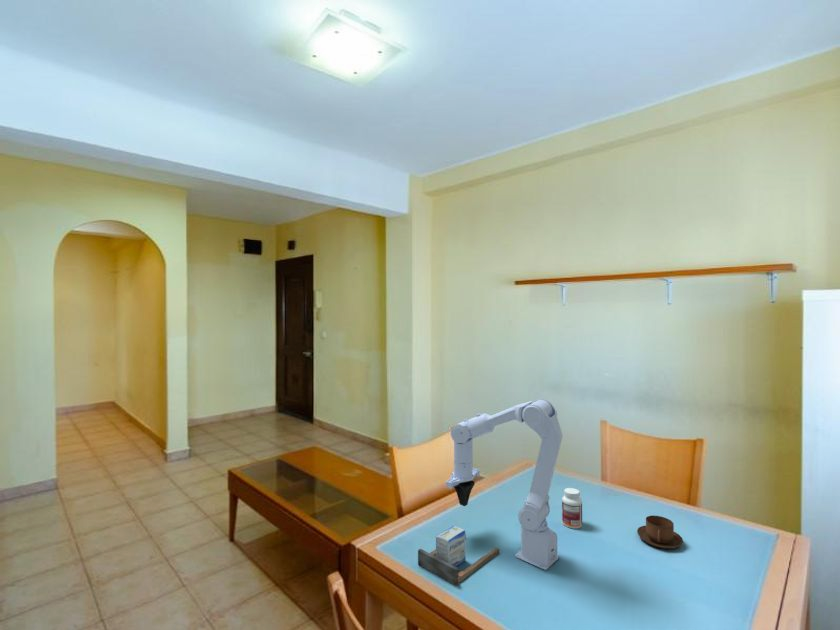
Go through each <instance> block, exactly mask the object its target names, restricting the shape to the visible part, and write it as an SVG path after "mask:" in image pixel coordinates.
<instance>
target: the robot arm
mask: <svg viewBox="0 0 840 630" xmlns="http://www.w3.org/2000/svg"><path fill="white" fill-rule="evenodd" d="M515 420H516V421H518V422H519V423H521V424H522V423H525V424H526V425H527V426H528V427H529V428H530V429H532V430H533V431H534V432H535V433H536V434H537V435H538V436H539V438H540V439H541V443H540V446H539V447H540V448H539V451H538V456H537V460H536V463H535V468H534V471H533V476H532V480H531V483H530V484H531V485H530V487H529V492H528V495H527V497H526V498H525V501H524V505H523V507H522V508H521V509H520V510H519V511H518V515H517V517H518V522H519V524H520V526H521V527H520V528H521V529H520V538H521V539H520V540H521V541H520V543H521V544H520V546H521V547H520V549H521V550H519V551H518V552H517V553H515V555H514V556H515V558H517V559H519V560H522V561H523V562H526V563H529V564H531V565H533V566H535V567H537V568H540V569H542V570H545V571H546V570H548V569H549V568H551V566H552V565H553V564H554V563H555V562H556V561H557V560H559V559H560V558H559V556H558V534H557V533H556V532H555V531H553V530H552V529H551V528H550V527H549V526H548V521H547V517H548V516H549V514H550V511H551V508H550V504H549V503H550V502H549V501H550V495H549V492H550V488H551V484H552V481H553V476H554V473H555V469H556V464H557V460H558V456H559V451H560V448H561V444H562V439H563V432H562V429H561V426H560V423H559V418H558V411H557V409H556V407H554V406H553V404H552V402H550V401H549V400H547V399H545V398H538V399H536V400H535V401H533V400H531V401H527V402H523V403H519V404H516V405H513V406H511V407H509V408H507V409H504V410H502V411H499V412H497V413H495V414H492V415H490V414H489V413H486V412H484V413H482V412H479V413H476V416H474V417H472V418H467V417H466V418H465V419H463V421H461V422H459V423H456V424H455V425H453V426H452V427H451V429H450V436H451V439H452V440H453V462H454V463H453V471H452V472H451V476H450V477H449V479H447V480H446V481H445V488H447V489H450V490H453V489H454V490H455V492H456V496H457V499H458V502H459V505H460V506H463V507H467V505H468V504H469V500H470V495H471V492H472V490H473V488H474V486H475V484H476V483H475V481H474V480H473V479H474V478H475V477H479V476H480V473H481V472H480V469H479V468H475V467H473V463H474V462H473V459H474V457H473V455H474V454H473V453H474V452H473V450H474V449H473V440H474V439H476V438H479V437H482V436H484V435H487V434H489V433H493V431H494V429H495V427H496V426H499V425H502V424H505V423H508V422H511V421H515Z"/></svg>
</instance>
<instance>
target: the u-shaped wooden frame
mask: <svg viewBox="0 0 840 630" xmlns="http://www.w3.org/2000/svg"><path fill="white" fill-rule="evenodd" d="M466 537H467V534H466V533H465V539H466ZM498 554H500V548H499V547H496V546H495V547H493V548H492V549H491V550H489V552H487V553H485V554H483V556H481V557H480V558H479V559H477V560H476V561H475V562H474V563H472V564H470V565H469V566H468V567H466V568H465V569H463V570H461V571H460V572H459V568H458V566H457V567H455V566H453V565H451V564H449V563H447V562H445V561H443V560H441V559H440V558H438V557H436V548H435V549H434V550H432V551H431V552H428V551H426V550H424V549H422V548H420V549H418V550H417V565H418V566H420V567H421V568H424V569H426V570H427V571H429V572H431V573H432V574H434V575H436V576H438V577H440V578H442V579H444V580H445V581H447V582H449V583H450V584H452V585H454V586H457V585H459V584H460V583H461V582H462V581H464V580H465V579H467V578H468V577H469V576H470V575H472V574H473V573H474V572H476V571H477V570H479V569H480V568H481V567H482V566H484V565H485V564H487V563H488V562H489V561H490V560H492V559H493V558H495V557H496V556H497V555H498Z"/></svg>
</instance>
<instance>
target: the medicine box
mask: <svg viewBox="0 0 840 630" xmlns="http://www.w3.org/2000/svg"><path fill="white" fill-rule="evenodd" d="M465 534H466V530H465V529H463V528H461V527H458V526H455V525H453V526H450V527H449V528H448V529H445V530H444V531H442V532H441V533H438V534H437V535H436V536H435V549H436V557H438V558H440V559H441V560H443V561H445V562H447V563H449V564H451V565H453V566H455V567H457V568H458V566H460V565H461V564H463V563H464V562H465V561H466V551H467V549H466V538H465Z"/></svg>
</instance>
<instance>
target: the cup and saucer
mask: <svg viewBox="0 0 840 630" xmlns="http://www.w3.org/2000/svg"><path fill="white" fill-rule="evenodd" d="M674 525H675V524H674V522H673V521H672V520H671V519H668V518H667V517H663V516H661V515H648V516H646V517H645V525H642V526H639V527H638V528H637V531H636V532H637V536H638V537H639V538H640V539H642V540H643V541H644V542H645V543H647V544H649V545H651V546H653V547H657V548H661V549H676V548H679V547H681V546H682V545H683V543H684V540H683V539H684V538H683V537H682V536H681V535H680V534H679V533H677V532H676V531H674V527H675V526H674Z"/></svg>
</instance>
